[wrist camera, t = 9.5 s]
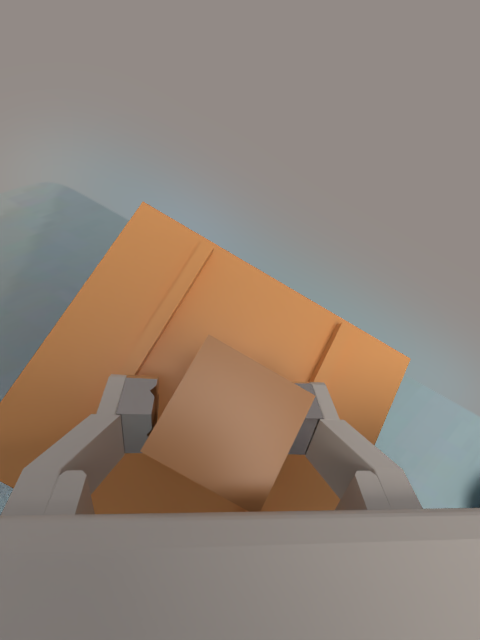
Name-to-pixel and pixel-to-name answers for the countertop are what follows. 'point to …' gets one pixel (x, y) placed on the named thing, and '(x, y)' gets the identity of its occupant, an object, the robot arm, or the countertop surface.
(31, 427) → the lid
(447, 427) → the countertop surface
